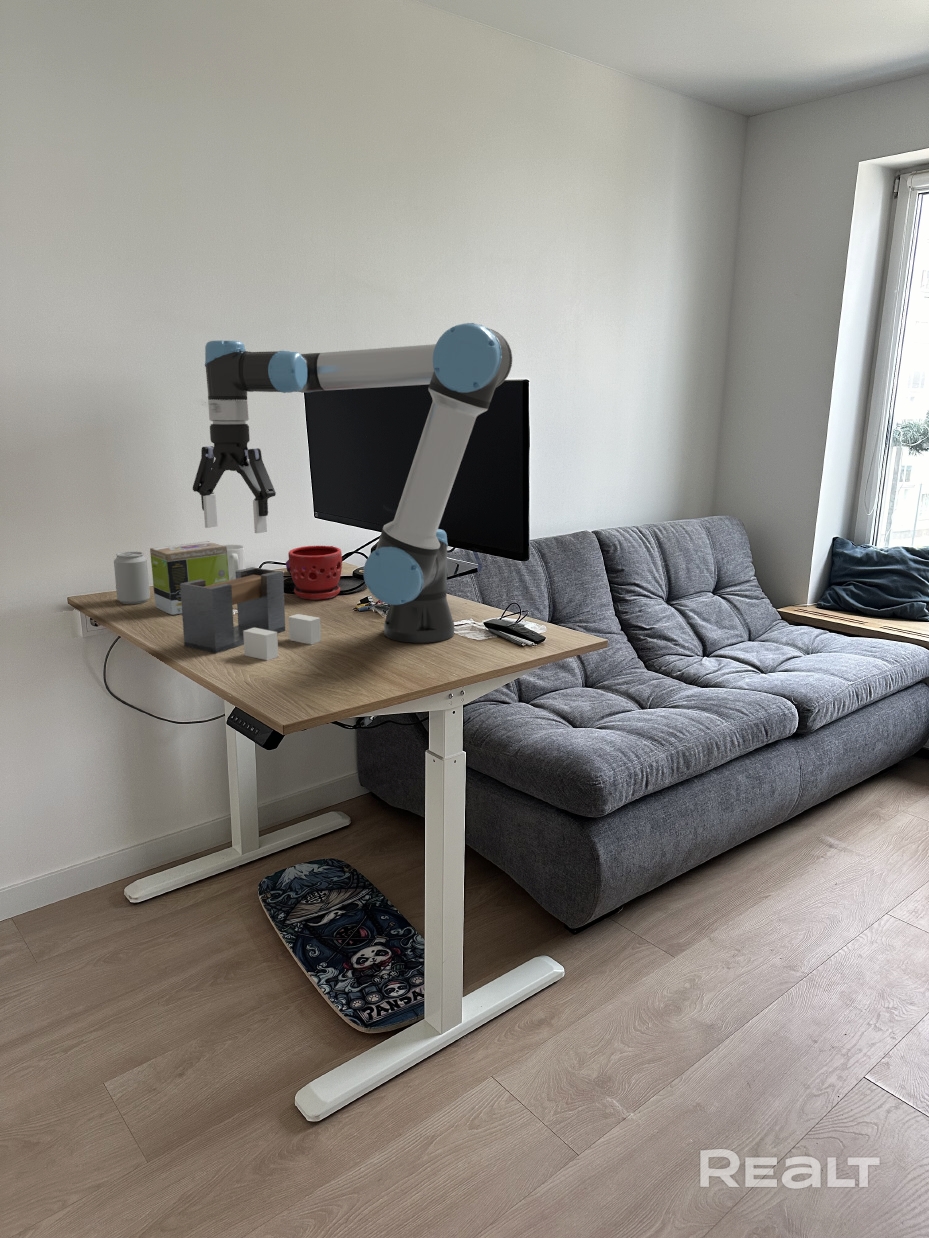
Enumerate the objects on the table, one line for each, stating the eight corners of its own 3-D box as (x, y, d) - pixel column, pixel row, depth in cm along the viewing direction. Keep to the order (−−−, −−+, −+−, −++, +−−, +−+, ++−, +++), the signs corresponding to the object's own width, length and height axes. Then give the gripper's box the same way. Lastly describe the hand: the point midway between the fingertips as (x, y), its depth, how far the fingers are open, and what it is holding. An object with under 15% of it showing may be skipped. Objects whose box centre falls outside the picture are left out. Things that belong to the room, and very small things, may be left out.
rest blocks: (320, 641, 182) (320, 617, 180) (267, 660, 168) (266, 635, 167) (298, 636, 184) (297, 613, 183) (244, 655, 171) (243, 630, 170)
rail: (268, 595, 186) (267, 576, 185) (212, 610, 173) (211, 590, 172) (254, 592, 188) (253, 574, 187) (198, 607, 175) (197, 588, 174)
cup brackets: (285, 630, 189) (283, 571, 186) (215, 653, 172) (212, 589, 169) (255, 624, 193) (252, 567, 190) (184, 646, 176) (180, 583, 173)
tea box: (213, 598, 216) (209, 540, 213) (231, 606, 209) (228, 545, 205) (153, 607, 207) (149, 546, 203) (171, 616, 200) (166, 552, 196)
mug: (212, 584, 232) (210, 545, 229) (242, 582, 235) (240, 543, 232) (222, 594, 221) (219, 553, 218) (253, 591, 225) (251, 551, 222)
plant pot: (293, 590, 226) (292, 545, 223) (344, 590, 227) (343, 545, 224) (286, 602, 214) (284, 554, 211) (340, 602, 215) (339, 554, 212)
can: (131, 606, 207) (126, 557, 204) (110, 602, 211) (106, 553, 208) (156, 600, 214) (153, 552, 211) (136, 596, 217) (132, 549, 214)
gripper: (169, 421, 175) (177, 527, 180) (263, 424, 163) (269, 537, 168) (197, 421, 181) (205, 522, 186) (290, 423, 169) (295, 532, 174)
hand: (235, 529), depth 177 cm, fingers open, 13 cm apart
